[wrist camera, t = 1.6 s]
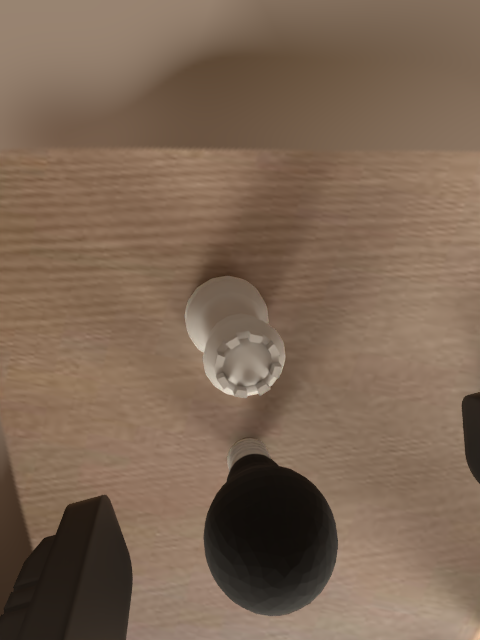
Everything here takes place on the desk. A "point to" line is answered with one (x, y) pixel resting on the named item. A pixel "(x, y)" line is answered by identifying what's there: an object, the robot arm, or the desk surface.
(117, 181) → the desk surface
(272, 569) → the light bulb
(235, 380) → the rook chess piece
